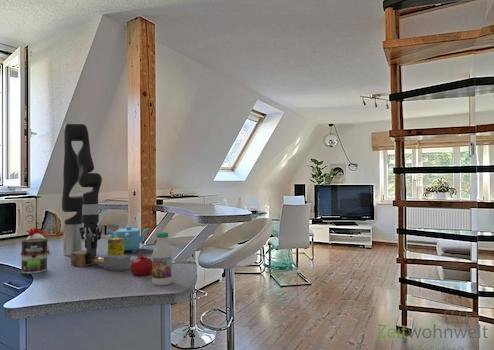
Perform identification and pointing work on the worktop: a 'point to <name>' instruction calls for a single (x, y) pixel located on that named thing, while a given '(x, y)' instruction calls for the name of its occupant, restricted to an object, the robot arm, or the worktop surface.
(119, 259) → the sleeve
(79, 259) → the socket block
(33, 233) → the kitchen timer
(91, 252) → the rod
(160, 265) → the milk bottle
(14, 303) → the worktop surface
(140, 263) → the pomegranate
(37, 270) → the coffee can
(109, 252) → the supplement box
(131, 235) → the teakettle
